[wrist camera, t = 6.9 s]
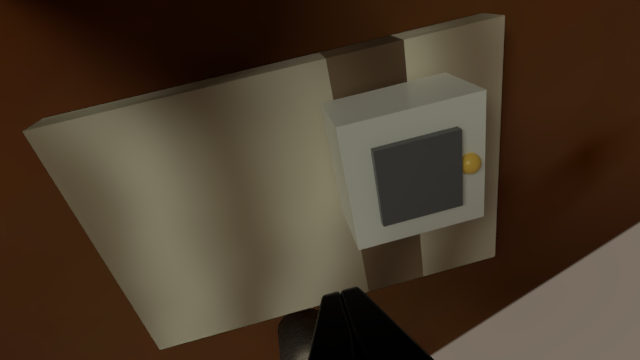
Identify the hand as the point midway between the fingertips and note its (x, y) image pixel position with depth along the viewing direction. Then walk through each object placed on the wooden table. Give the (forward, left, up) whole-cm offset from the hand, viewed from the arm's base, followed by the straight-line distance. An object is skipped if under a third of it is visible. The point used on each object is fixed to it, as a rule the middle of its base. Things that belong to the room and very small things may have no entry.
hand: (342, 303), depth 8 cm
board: (0, -2, -9) cm, 10 cm away
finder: (+4, 0, -8) cm, 9 cm away
